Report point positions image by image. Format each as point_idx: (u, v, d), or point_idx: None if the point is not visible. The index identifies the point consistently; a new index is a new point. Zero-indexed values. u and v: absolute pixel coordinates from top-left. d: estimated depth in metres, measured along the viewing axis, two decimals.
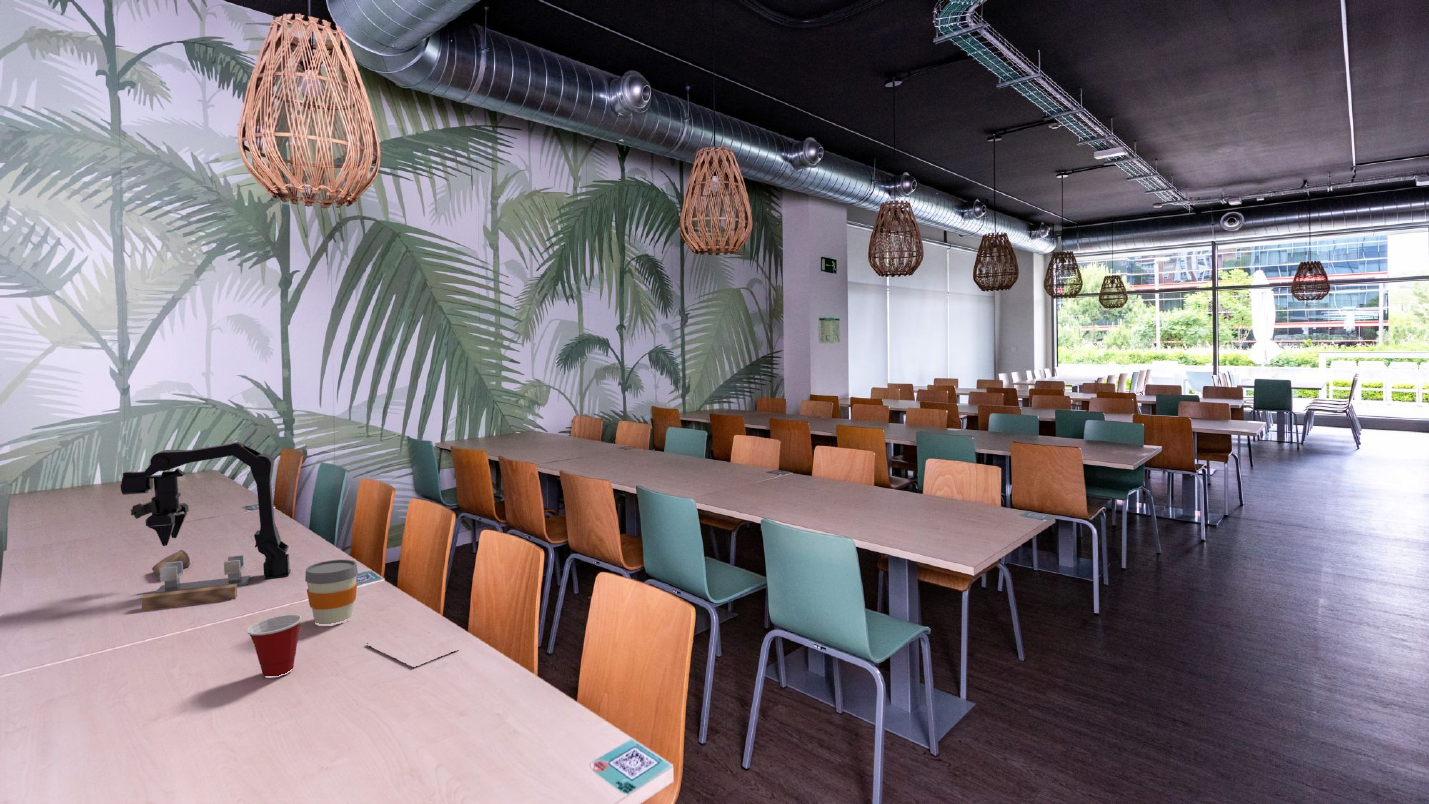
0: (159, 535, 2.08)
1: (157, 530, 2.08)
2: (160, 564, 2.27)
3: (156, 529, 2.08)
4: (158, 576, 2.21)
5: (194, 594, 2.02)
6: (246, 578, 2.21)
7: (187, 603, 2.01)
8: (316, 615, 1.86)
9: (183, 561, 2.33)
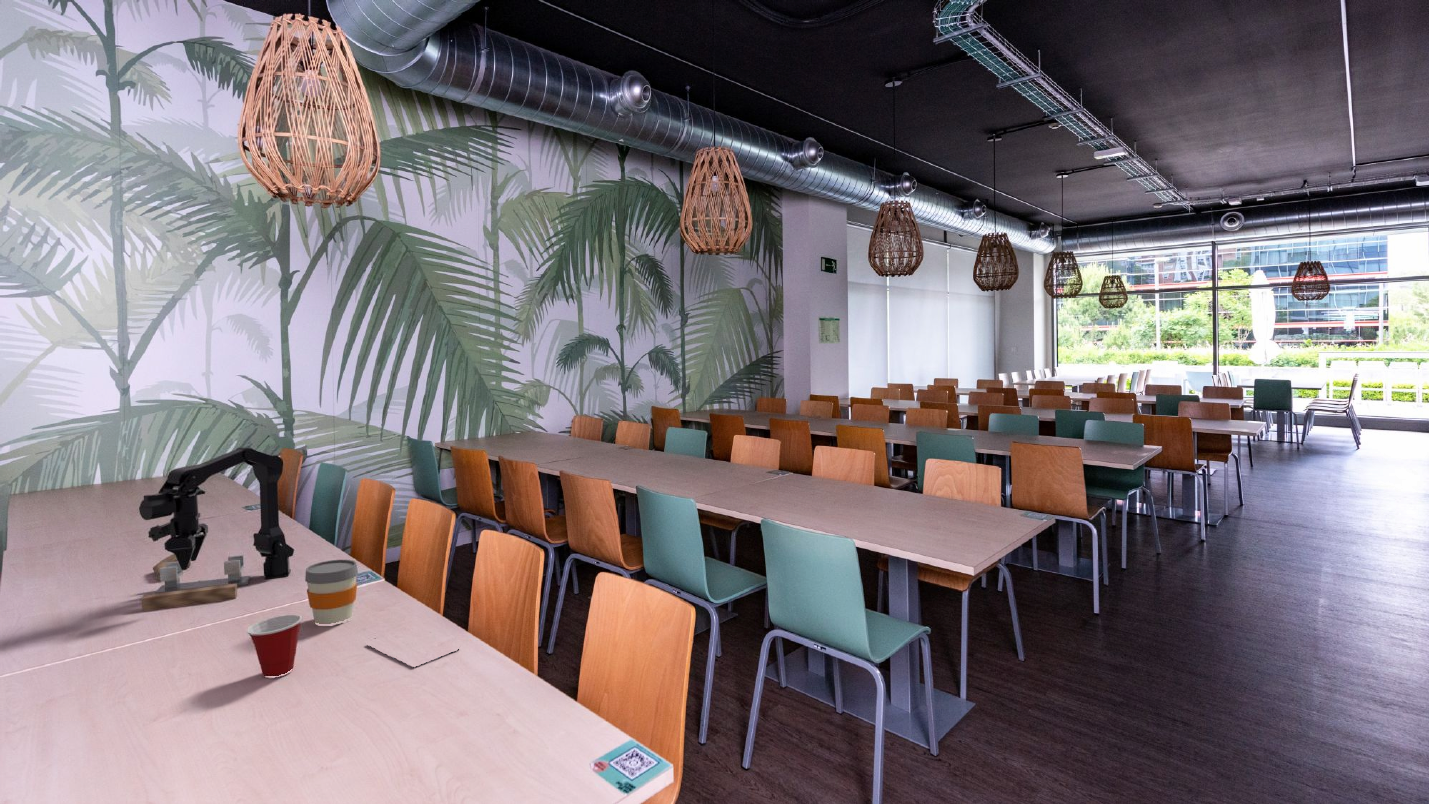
0: (178, 559, 1.96)
1: (176, 554, 1.95)
2: (161, 564, 2.27)
3: (175, 553, 1.95)
4: (158, 576, 2.21)
5: (194, 594, 2.02)
6: (246, 578, 2.21)
7: (187, 603, 2.01)
8: (316, 615, 1.86)
9: None
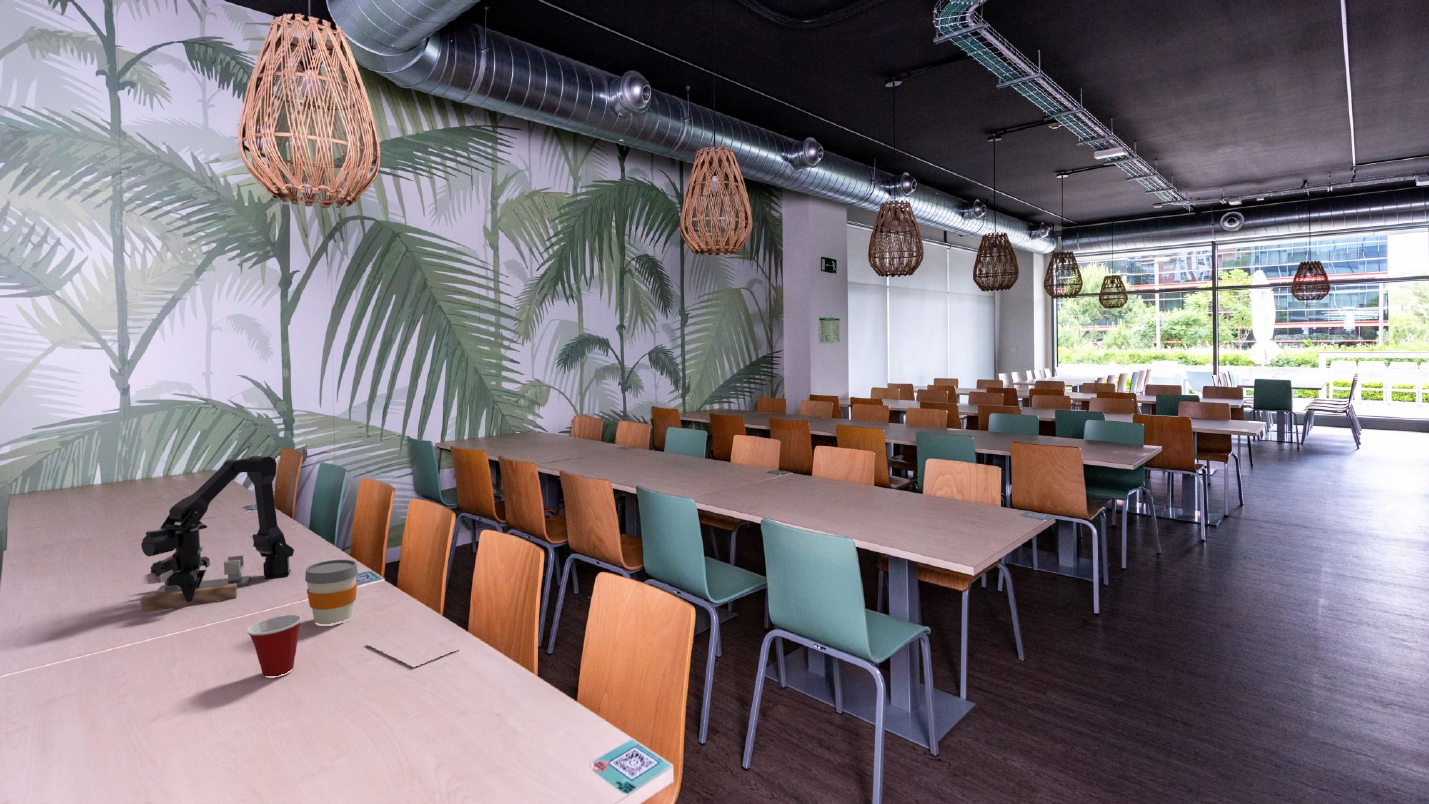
0: (183, 591, 1.99)
1: (181, 586, 1.98)
2: None
3: (180, 585, 1.98)
4: (157, 576, 2.21)
5: (195, 594, 2.02)
6: (246, 578, 2.21)
7: (187, 603, 2.01)
8: (316, 615, 1.86)
9: None
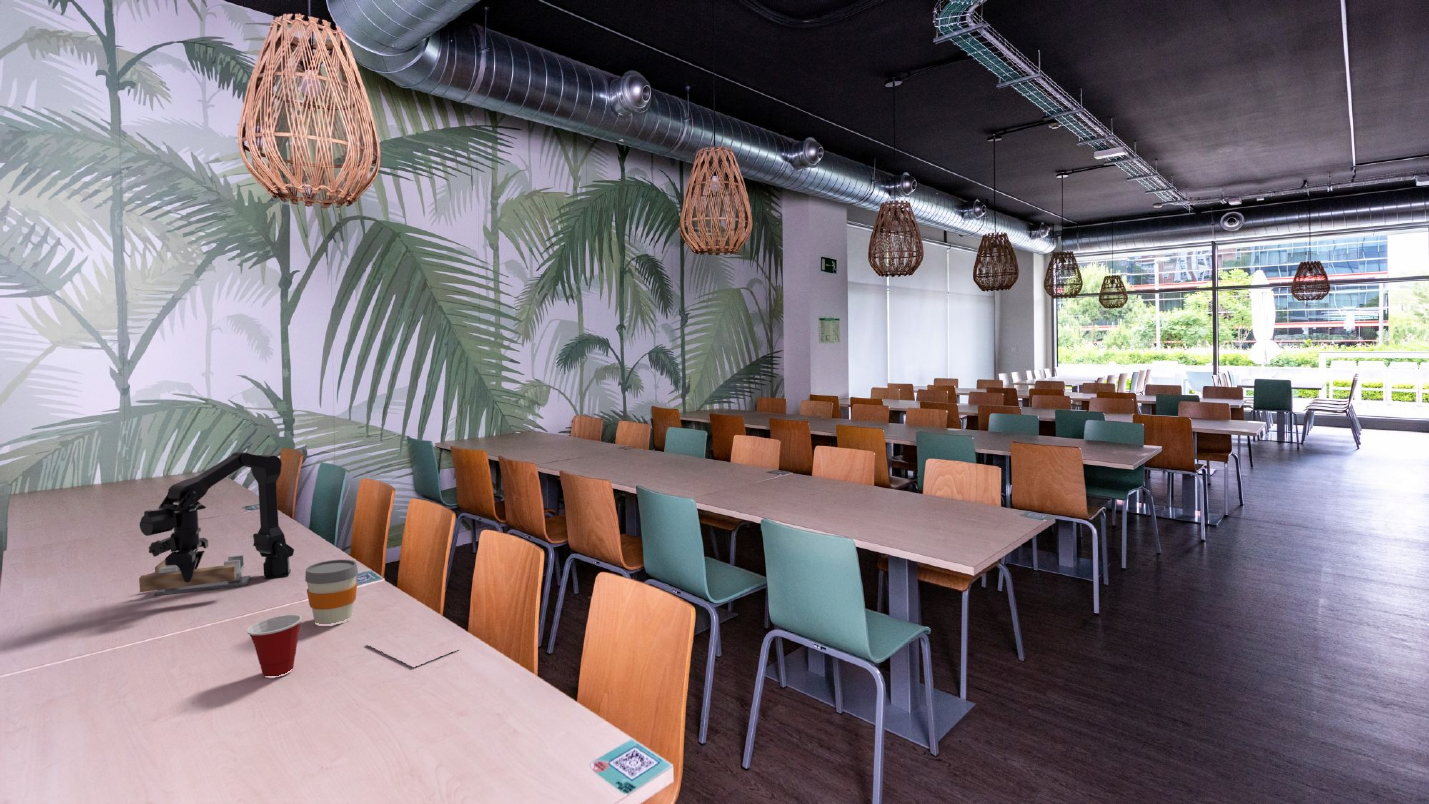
0: (182, 571, 1.99)
1: (180, 566, 1.98)
2: (162, 564, 2.27)
3: (179, 565, 1.98)
4: None
5: (193, 575, 2.01)
6: (246, 578, 2.21)
7: (186, 583, 2.00)
8: (316, 615, 1.86)
9: None
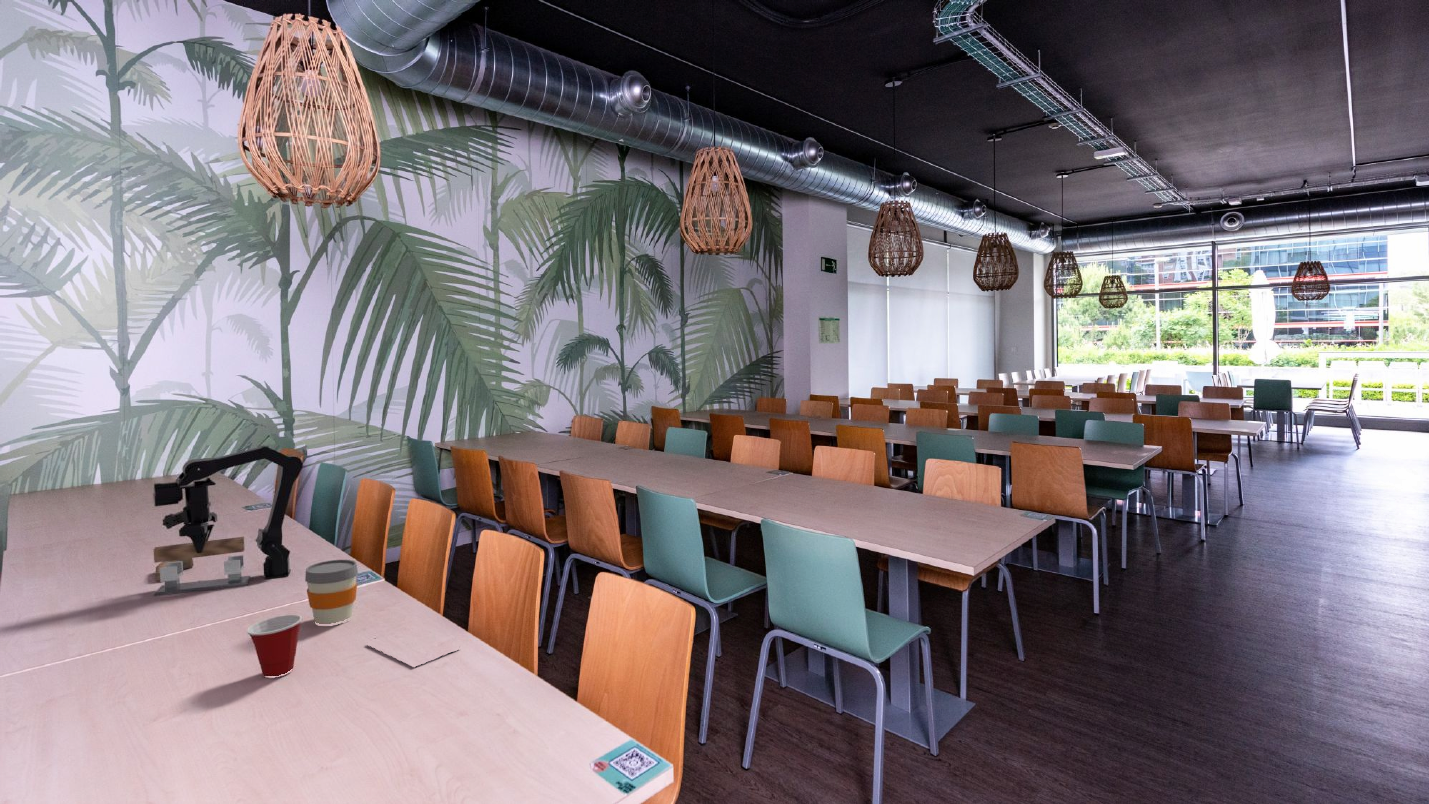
0: (194, 543, 2.10)
1: (192, 538, 2.09)
2: (162, 564, 2.27)
3: (191, 537, 2.09)
4: (156, 577, 2.20)
5: (204, 546, 2.12)
6: (246, 578, 2.21)
7: (197, 554, 2.12)
8: (316, 615, 1.86)
9: (186, 561, 2.32)
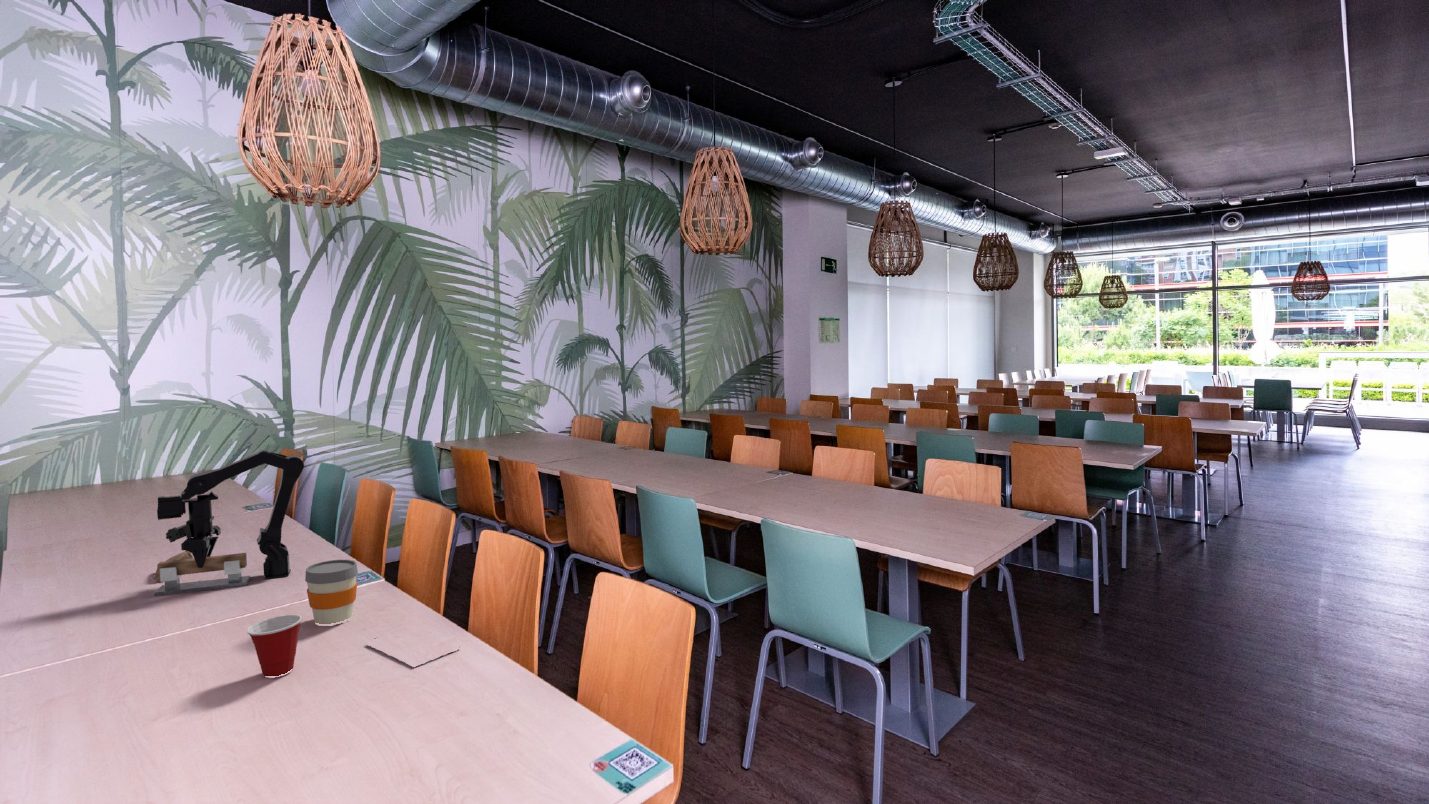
0: (195, 557, 2.11)
1: (193, 552, 2.10)
2: None
3: (192, 552, 2.10)
4: (155, 577, 2.20)
5: (207, 562, 2.15)
6: (246, 578, 2.21)
7: (200, 570, 2.14)
8: (316, 615, 1.86)
9: None
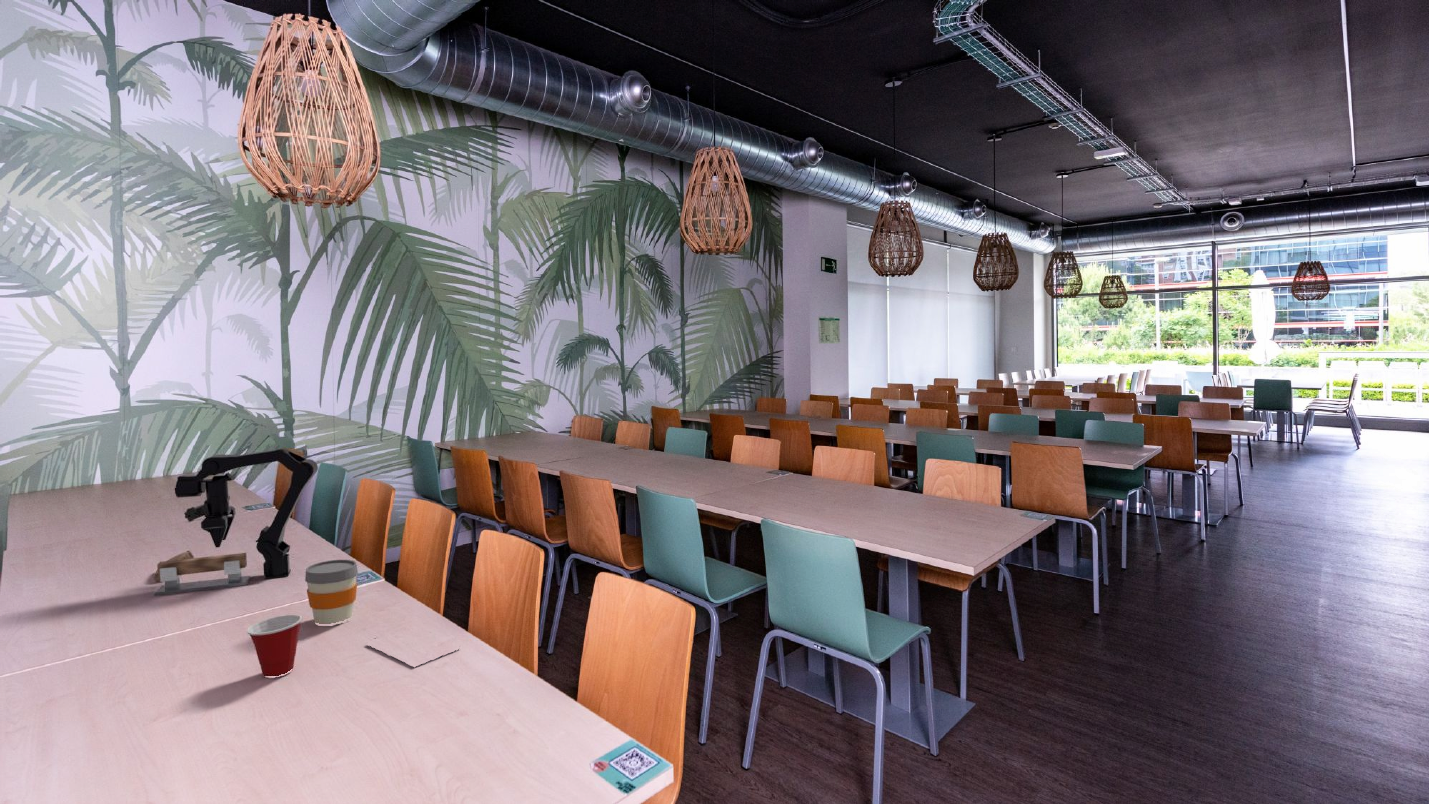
0: (213, 537, 2.16)
1: (211, 532, 2.15)
2: None
3: (210, 531, 2.15)
4: (155, 577, 2.20)
5: (207, 562, 2.15)
6: (246, 578, 2.21)
7: (200, 570, 2.14)
8: (316, 615, 1.86)
9: None
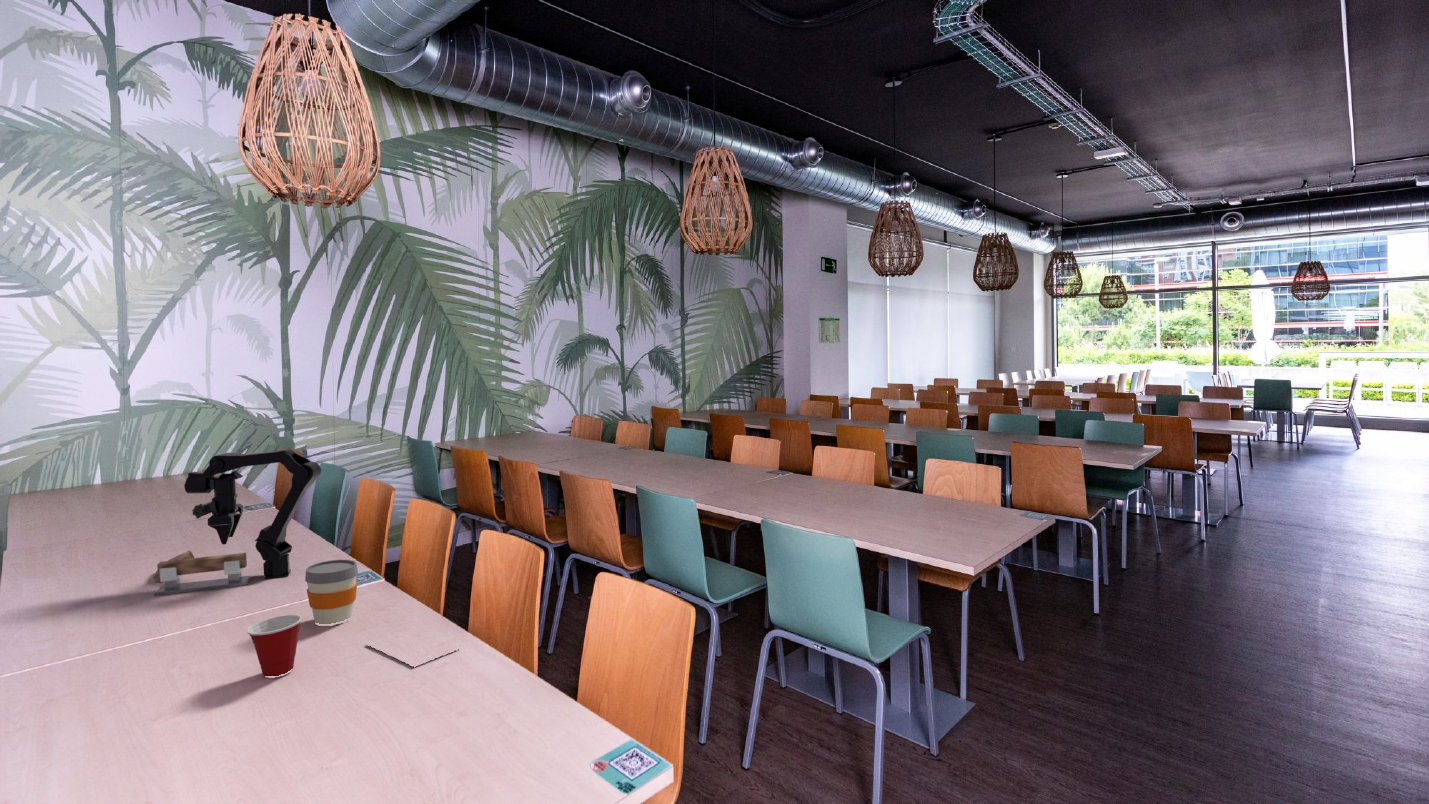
0: (219, 534, 2.19)
1: (217, 529, 2.18)
2: None
3: (216, 528, 2.18)
4: (154, 577, 2.20)
5: (207, 562, 2.15)
6: (246, 578, 2.21)
7: (200, 570, 2.14)
8: (316, 615, 1.86)
9: None
